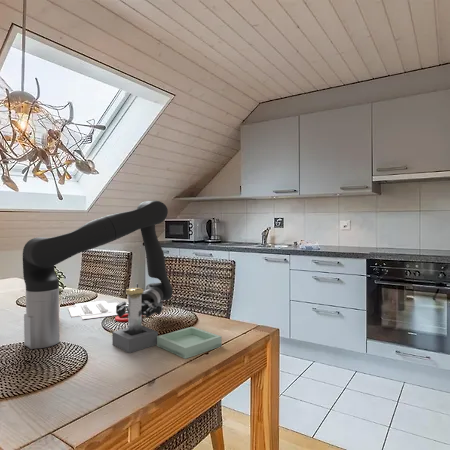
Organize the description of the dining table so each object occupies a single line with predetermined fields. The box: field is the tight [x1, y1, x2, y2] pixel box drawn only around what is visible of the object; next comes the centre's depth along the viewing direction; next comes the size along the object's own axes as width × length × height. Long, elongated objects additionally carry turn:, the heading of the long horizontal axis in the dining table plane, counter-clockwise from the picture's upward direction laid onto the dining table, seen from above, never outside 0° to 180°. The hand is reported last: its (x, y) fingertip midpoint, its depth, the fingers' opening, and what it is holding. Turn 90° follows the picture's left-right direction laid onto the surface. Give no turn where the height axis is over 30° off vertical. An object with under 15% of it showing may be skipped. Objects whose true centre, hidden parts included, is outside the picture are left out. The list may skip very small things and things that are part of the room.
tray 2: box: [67, 300, 120, 321], centre depth 154 cm, size 20×28×4 cm
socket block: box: [111, 325, 159, 354], centre depth 112 cm, size 10×10×4 cm
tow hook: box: [114, 282, 144, 323], centre depth 140 cm, size 9×14×10 cm
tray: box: [156, 326, 223, 360], centre depth 110 cm, size 14×14×3 cm
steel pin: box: [125, 287, 144, 336], centre depth 112 cm, size 5×5×17 cm
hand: (133, 313), depth 110 cm, fingers open, 8 cm apart
